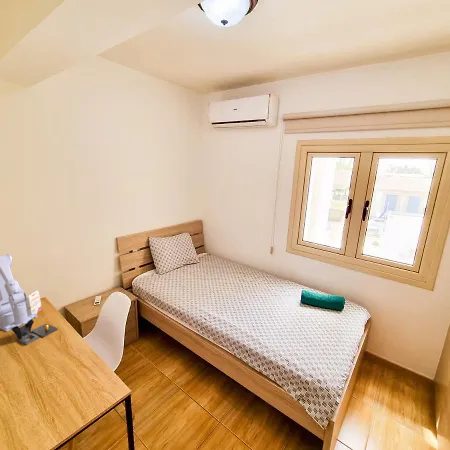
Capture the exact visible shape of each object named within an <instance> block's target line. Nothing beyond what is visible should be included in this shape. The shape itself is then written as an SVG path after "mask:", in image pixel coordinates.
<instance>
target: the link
mask: <svg viewBox="0 0 450 450" xmlns="http://www.w3.org/2000/svg"><path fill="white" fill-rule="evenodd" d="M19 328H20V335H21V338H20V339H19V338H17V340H19V343H21V344H24V345H25V346H27V345H29V344H31V343H34V342H35V341H37V340H39V337H40V336H38V335H36V334H34V333H32V332H30V331H29V327H27V326H25V324H23V325H21V326H19Z"/></svg>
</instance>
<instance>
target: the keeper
mask: <svg viewBox="0 0 450 450" xmlns="http://www.w3.org/2000/svg"><path fill="white" fill-rule="evenodd" d="M58 330H59V329H58V327H55V326H53V325H51V324H49V323H43V324H42V325H40V326H38V327H36V328H33V329H31V332H30V333H33V334H35V335H37V336H38V337H41V338H45V337H47V336H49V335H51V334H52V333H55V332H56V331H58Z"/></svg>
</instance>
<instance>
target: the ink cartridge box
mask: <svg viewBox="0 0 450 450" xmlns="http://www.w3.org/2000/svg"><path fill="white" fill-rule="evenodd" d="M26 297H27V300H26V301H25V303H26V309H27V316H30V315H33V314H37V315H38V313H40V312H41V311H43V308H42V301H41V296H40V291H39V290H35V291H33V292H32V293H31V294H29V295H28V296H26Z"/></svg>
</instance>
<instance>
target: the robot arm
mask: <svg viewBox="0 0 450 450" xmlns="http://www.w3.org/2000/svg"><path fill="white" fill-rule="evenodd" d="M12 265H13V259H12V256H11V255H10V254H7V253H6V254H2V255H0V329H1V330H3V331H4V332H6V333H7V332H10V331H12V332H13V333H14V334H15V336H16V337H17V339H18V338H19V339H20V338H21V335H20V327H22V326H24V325H25V326H27V327H29V331H30V333H32V332H31V331H32V327H33V325H34V323H35V322H34V319H38V313H37V314H33V315H30V316H27V309H26V303H25V301H26V300H27V297H28V296H27V294H26V292H25V290H24V289H22V288H21V286H20V284H19V281H18V280H16V279H15V278H14V276H13V272H12V269H11V267H12ZM19 339H18V340H19Z"/></svg>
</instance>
